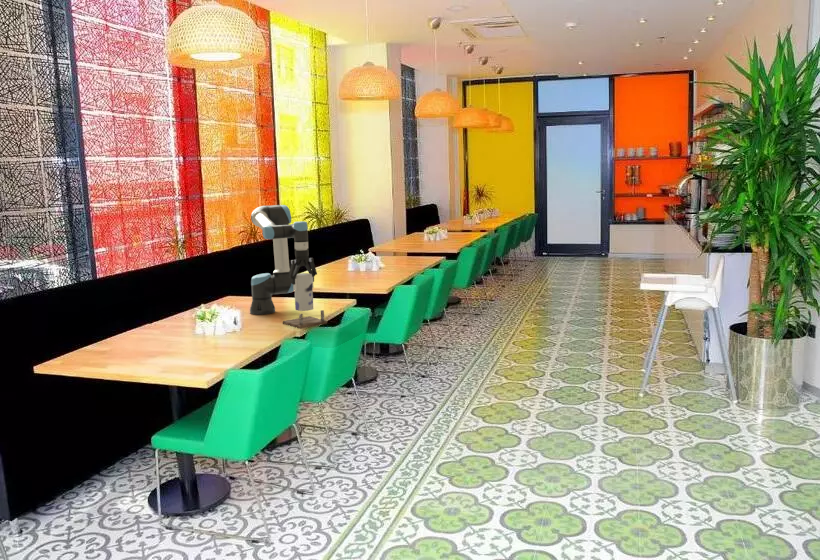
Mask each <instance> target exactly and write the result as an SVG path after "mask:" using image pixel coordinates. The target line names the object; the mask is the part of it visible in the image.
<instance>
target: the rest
mask: <svg viewBox="0 0 820 560" xmlns="http://www.w3.org/2000/svg"><path fill="white" fill-rule="evenodd" d="M298 316H299V317H298V318H293V319H286V320H282V324H283V325H286V326H289V325H290V327H292V326H293V328H296V327H297V329H306V328H311V327H317V326H321V325H327V324H328V320H326V319H325V310H320V318H317V317H315V316H308V315H307V316H304V315H303V313H299V314H298ZM303 316H304V317H303Z"/></svg>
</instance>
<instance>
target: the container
mask: <svg viewBox="0 0 820 560" xmlns="http://www.w3.org/2000/svg"><path fill="white" fill-rule="evenodd" d="M295 279H297V290H294V305H295V308H294V309H295V311H300V312H308V311H312V310H314V293H313V292H314V290H313V289H314V287H313V288H312V274H309V272H307V273H306V272H305V273H304V272H302V273H297V275H296V278H295Z"/></svg>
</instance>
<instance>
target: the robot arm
mask: <svg viewBox="0 0 820 560" xmlns="http://www.w3.org/2000/svg"><path fill="white" fill-rule="evenodd" d="M250 220H251V222H252V224H253V225H255V227H259V229H261V230H262V236H263V239H265V240H272V242H273V244H272V245H273V246H272V247H273V256H274V270H273V272H272V274H271V273H269V272H265V273H259V274H256V275H253V276H252V277H251V280H250V286H251V299H252V300H251V303H250V308H249V313H250V314H251V315H259V316H260V315H270V314H275V313H276V307H275V304H274V302H273V297H272V296H273V295H280V294H289V293H293V292H295V290H297V279H295V278H296V275H297V274H299V270H300V268H301V267H305V269H306V270H307V273H309V274H312V288H313V289H314V282H315V277H316V275H318V272H317V268H316V265H315V262H314V258H313V257H309V256H310V255H309V254H310V253H309V251H310V250H309V233H308V231H309V230H308V229H309V227H308V222H307V221H302V220H301V221H300V220H298V221H294V222H293V223H292V214H291V211H290V208H289V206H288V205H285V204H275V205H274V204H273V205H260V206H258V207H256V208H255V209H253V210H252V212H251V214H250ZM291 238H292V239H294V256H295V259H289V246H288V245H289V244H288V239H291Z"/></svg>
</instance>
